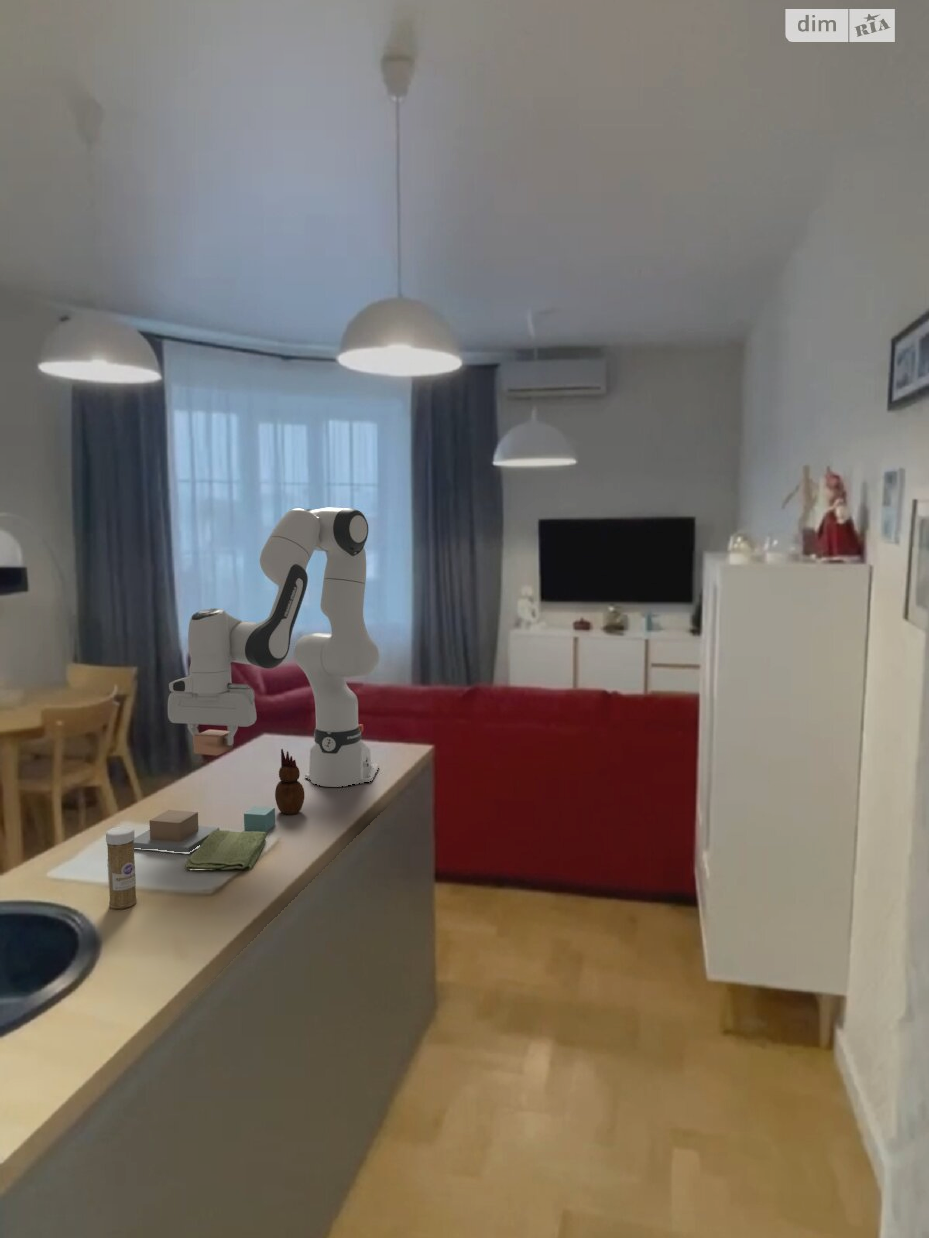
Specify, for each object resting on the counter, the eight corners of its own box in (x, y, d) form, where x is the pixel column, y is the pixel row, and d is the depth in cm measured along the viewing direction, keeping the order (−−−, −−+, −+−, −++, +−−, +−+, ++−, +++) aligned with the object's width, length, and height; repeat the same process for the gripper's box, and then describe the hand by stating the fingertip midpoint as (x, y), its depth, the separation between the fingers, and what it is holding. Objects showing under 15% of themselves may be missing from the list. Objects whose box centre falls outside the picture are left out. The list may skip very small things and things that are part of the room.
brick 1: (210, 746, 188) (209, 729, 188) (232, 748, 187) (232, 731, 186) (193, 753, 183) (193, 735, 182) (217, 755, 181) (216, 737, 180)
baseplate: (162, 829, 182) (161, 804, 182) (219, 834, 179) (218, 809, 179) (128, 848, 171) (127, 823, 170) (188, 854, 168) (187, 828, 167)
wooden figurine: (271, 812, 194) (269, 749, 192) (291, 806, 198) (290, 744, 197) (288, 818, 189) (286, 754, 188) (308, 812, 193) (307, 749, 192)
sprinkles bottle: (123, 911, 142) (120, 835, 141) (103, 907, 144) (99, 832, 142) (142, 900, 146) (139, 827, 145) (122, 896, 148) (119, 823, 147)
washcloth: (182, 875, 159) (181, 858, 158) (210, 841, 176) (209, 827, 176) (250, 874, 159) (249, 858, 158) (271, 841, 176) (271, 827, 176)
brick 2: (254, 823, 186) (254, 806, 186) (275, 825, 185) (274, 807, 185) (244, 831, 182) (243, 813, 181) (265, 832, 181) (265, 815, 180)
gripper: (260, 681, 184) (262, 742, 185) (178, 678, 188) (181, 737, 190) (246, 686, 178) (248, 749, 179) (162, 683, 182) (165, 744, 184)
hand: (213, 743), depth 184 cm, fingers closed on brick 1, 6 cm apart
